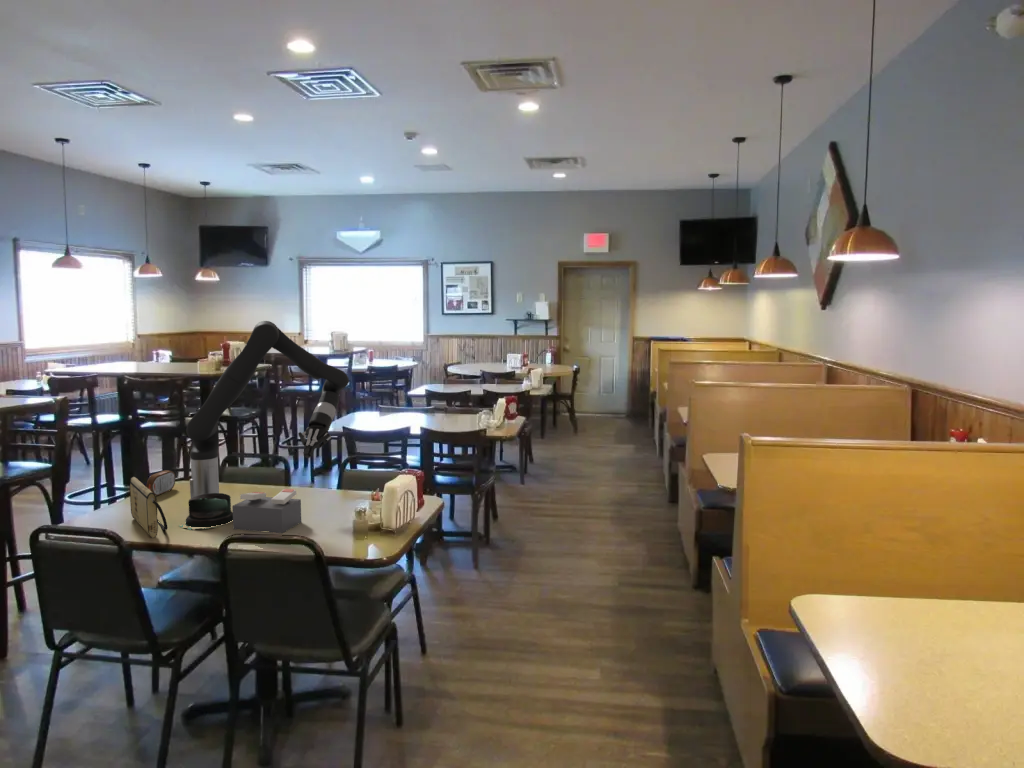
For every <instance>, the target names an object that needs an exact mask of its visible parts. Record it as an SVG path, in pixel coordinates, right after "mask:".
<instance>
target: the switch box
mask: <svg viewBox="0 0 1024 768" xmlns="http://www.w3.org/2000/svg"><path fill="white" fill-rule="evenodd" d="M273 497H274V496H273ZM273 497H272V496H266V498H262V499H256V500H245V499H243V500H242V501H239V502H237V503H236V504H233V505H231V509H232V512H233V521H232V525H233V526H232V527H233V530H237V529H240V531H248V532H261V531H269V532H268V533H273V532H276V534H277V533H278V534H284V533H285V532H287V531H289V530H290V528H291V529H292V528H294V527H295V525H296V526H298V525H299V524H301V523H302V503H301V500H302V499H301V498H300V499H299V498H291V499H290V500H289V501H288V502H286V503H285V504H272V500H271V499H272V498H273ZM300 522H301V523H300ZM298 523H299V524H298ZM293 526H294V527H293ZM283 532H284V533H283Z"/></svg>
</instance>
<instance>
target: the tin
mask: <svg viewBox="0 0 1024 768" xmlns="http://www.w3.org/2000/svg"><path fill="white" fill-rule="evenodd" d="M175 484H176V474H175V472H174V471H172V470H168V469H167V470H165V469H164V470H162V471H159V472H156V473H153V474H151V475H150V476H149V477H148V479H147V482H146V485H145V486H146V487H147V488H148V489H149V490H150V491H151V492H153V493H154V494H155V496H156V497H157V496H160V494H161V495H162V494H165V493H168V492H170V491H171V490H173V488H174V487H175ZM169 490H170V491H169ZM167 491H168V492H167Z"/></svg>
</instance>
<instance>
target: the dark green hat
mask: <svg viewBox="0 0 1024 768" xmlns="http://www.w3.org/2000/svg"><path fill="white" fill-rule="evenodd" d="M231 498H232V497H231V495H229V494H227V493H223V492H219V493H209V494H202V495H198V496H195V497H193V498H191V497H190V499H188V503H187V504H188V516H186V519H185V522H186V523H184V524H185V525H186V526H191V527H211V526H216V525H221V524H225V525H227V524H226V523H228V522H230V521H232V520H233V511H232V502H231ZM232 522H233V521H232ZM230 523H231V522H230ZM184 524H181V525H182V526H180V525H179V528H181V527H183V525H184ZM228 524H229V523H228ZM211 528H212V527H211ZM191 529H192V528H189V527H188V529H187V530H190V531H192V530H191Z"/></svg>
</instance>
